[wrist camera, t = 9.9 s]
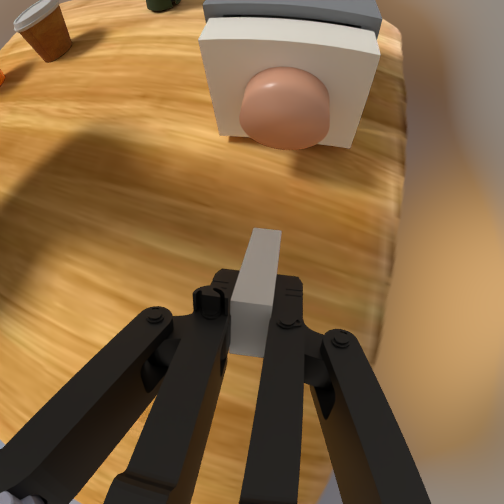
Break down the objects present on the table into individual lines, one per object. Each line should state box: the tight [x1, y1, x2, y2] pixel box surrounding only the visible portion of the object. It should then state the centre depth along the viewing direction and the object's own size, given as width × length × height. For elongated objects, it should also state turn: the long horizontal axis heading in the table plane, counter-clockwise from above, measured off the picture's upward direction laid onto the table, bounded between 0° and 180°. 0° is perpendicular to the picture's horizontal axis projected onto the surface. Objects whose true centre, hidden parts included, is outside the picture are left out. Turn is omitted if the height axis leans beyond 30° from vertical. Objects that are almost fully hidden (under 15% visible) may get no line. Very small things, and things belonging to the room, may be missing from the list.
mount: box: [203, 0, 382, 40], centre depth 27 cm, size 16×14×14 cm
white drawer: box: [198, 15, 381, 150], centre depth 26 cm, size 21×13×12 cm, turn 172°
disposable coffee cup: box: [14, 0, 72, 62], centre depth 36 cm, size 10×10×12 cm
